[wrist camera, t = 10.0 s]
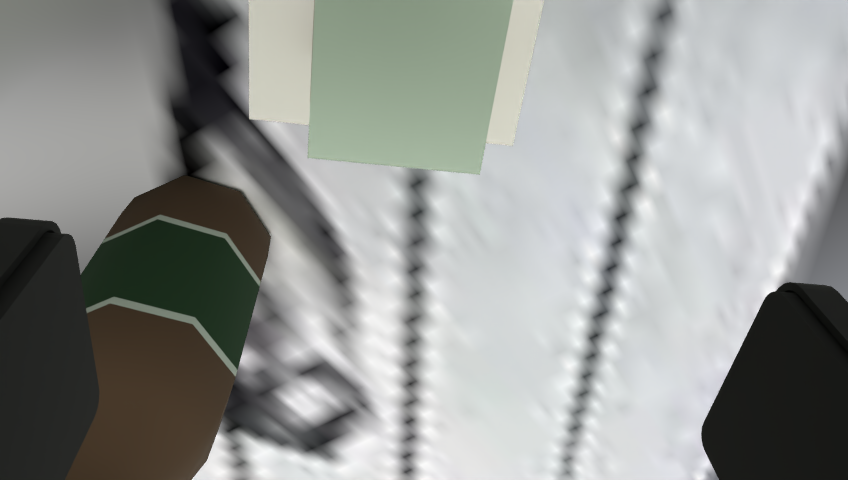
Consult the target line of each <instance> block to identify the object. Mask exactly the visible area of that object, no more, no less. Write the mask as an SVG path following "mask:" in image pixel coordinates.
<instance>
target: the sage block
mask: <svg viewBox="0 0 848 480" xmlns="http://www.w3.org/2000/svg"><path fill="white" fill-rule="evenodd" d="M512 5H513V0H315V7H314V29H313V51H312V73H311V95H310V117H309V139H308V158H314V159H324V160H334V161H345V162H355V163H365V164H375V165H386V166H396V167H406V168H417V169H427V170H437V171H448V172H458V173H468V174H479V175H480V170H481V165H482V160H483V155H484V149H485V144H486V139H487V134H488V129H489V124H490V118H491V113H492V108H493V103H494V98H495V92H496V87H497V82H498V77H499V72H500V67H501V61H502V56H503V51H504V46H505V41H506V36H507V30H508V25H509V20H510V15H511V10H512Z"/></svg>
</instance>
